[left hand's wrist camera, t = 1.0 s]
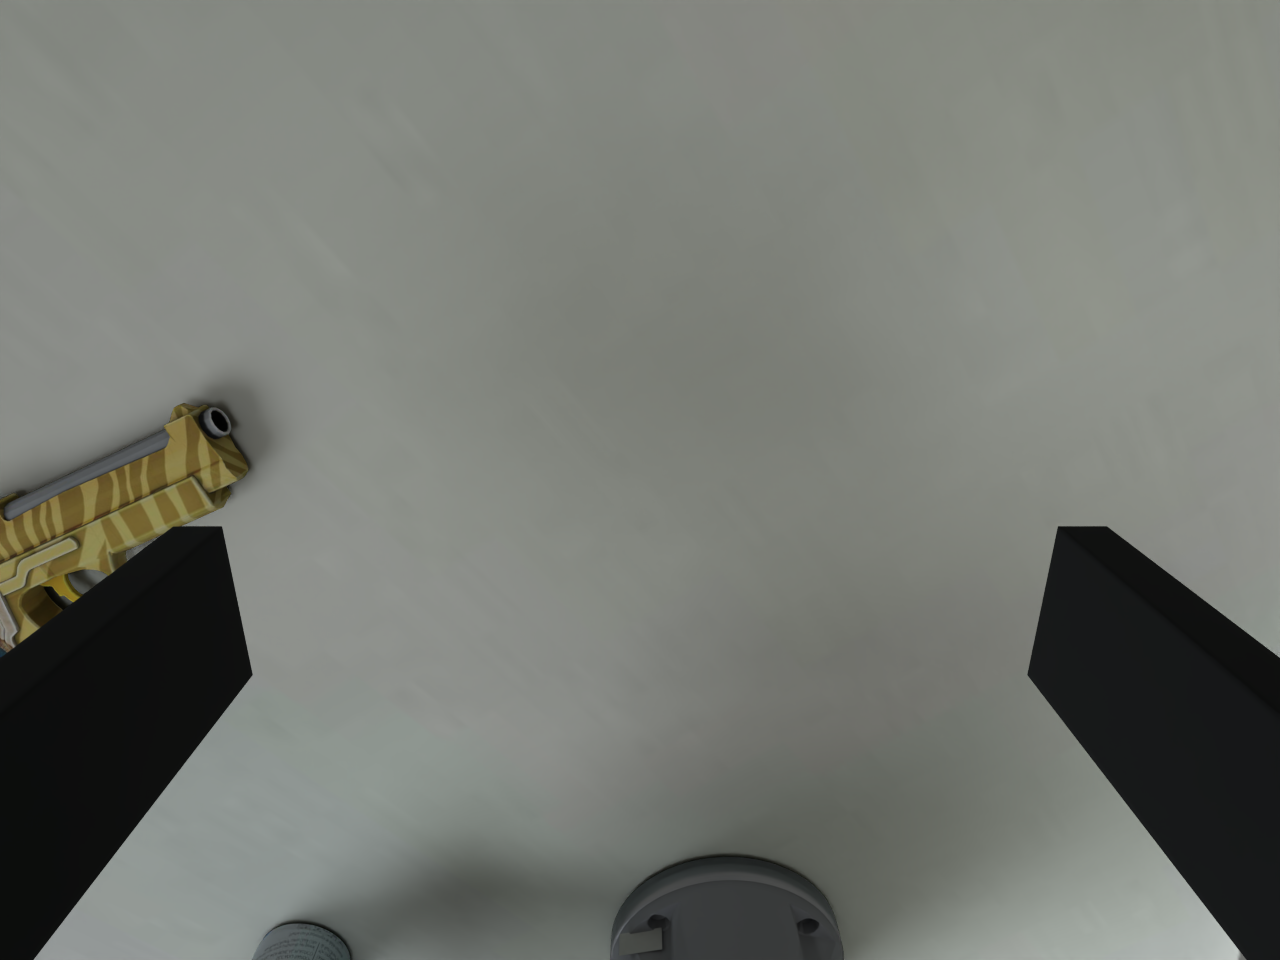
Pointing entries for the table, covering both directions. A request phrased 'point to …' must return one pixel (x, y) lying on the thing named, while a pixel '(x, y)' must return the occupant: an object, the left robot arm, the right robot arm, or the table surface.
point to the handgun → (109, 513)
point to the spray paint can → (301, 944)
